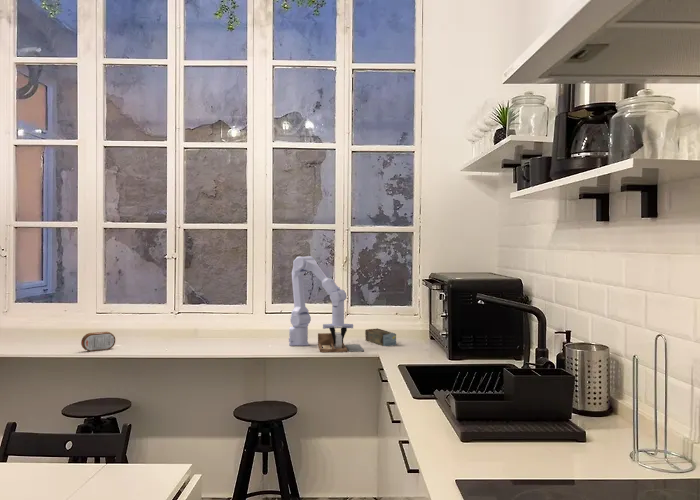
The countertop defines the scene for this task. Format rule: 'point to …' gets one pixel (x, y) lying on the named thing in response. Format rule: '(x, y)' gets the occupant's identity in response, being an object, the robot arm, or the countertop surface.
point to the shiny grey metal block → (338, 340)
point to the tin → (98, 341)
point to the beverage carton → (380, 337)
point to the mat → (354, 347)
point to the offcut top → (326, 346)
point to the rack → (328, 343)
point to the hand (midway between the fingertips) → (337, 343)
